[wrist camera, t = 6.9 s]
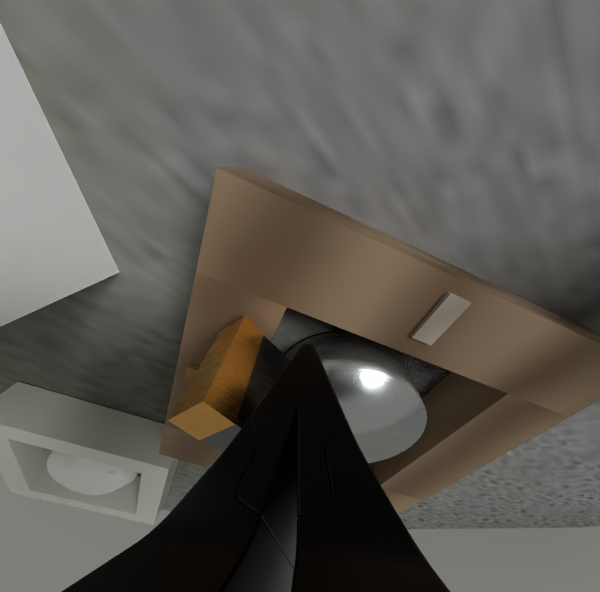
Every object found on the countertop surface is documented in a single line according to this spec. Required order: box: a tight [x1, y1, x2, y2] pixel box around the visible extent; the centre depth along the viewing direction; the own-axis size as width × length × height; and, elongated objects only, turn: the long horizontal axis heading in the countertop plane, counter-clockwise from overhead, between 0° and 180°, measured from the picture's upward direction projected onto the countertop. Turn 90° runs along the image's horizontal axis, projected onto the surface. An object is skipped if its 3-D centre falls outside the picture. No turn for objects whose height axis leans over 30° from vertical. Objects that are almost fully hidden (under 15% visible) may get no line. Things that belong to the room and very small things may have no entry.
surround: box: [159, 168, 600, 514], centre depth 15 cm, size 20×20×3 cm
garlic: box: [47, 450, 138, 495], centre depth 21 cm, size 8×7×4 cm
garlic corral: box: [0, 382, 179, 525], centre depth 22 cm, size 14×14×3 cm
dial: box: [168, 315, 427, 463], centre depth 12 cm, size 14×9×7 cm, turn 38°
